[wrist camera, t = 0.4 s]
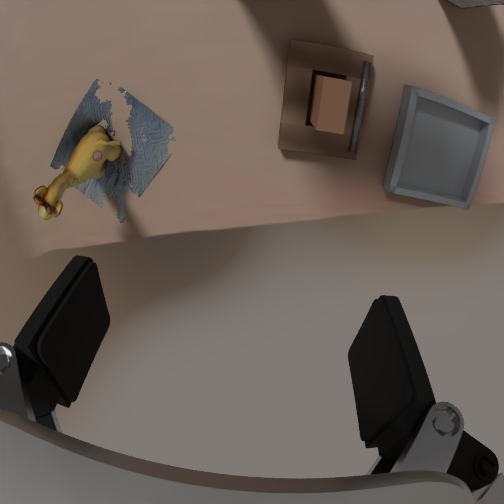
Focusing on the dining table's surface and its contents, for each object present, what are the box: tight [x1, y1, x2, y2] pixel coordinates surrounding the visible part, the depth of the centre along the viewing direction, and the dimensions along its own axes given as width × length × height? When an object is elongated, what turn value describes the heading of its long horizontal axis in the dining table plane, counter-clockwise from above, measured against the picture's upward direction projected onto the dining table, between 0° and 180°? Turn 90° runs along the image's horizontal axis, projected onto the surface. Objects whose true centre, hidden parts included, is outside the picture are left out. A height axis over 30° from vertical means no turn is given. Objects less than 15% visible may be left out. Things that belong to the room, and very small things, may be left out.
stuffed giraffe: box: [33, 79, 176, 223], centre depth 33 cm, size 16×18×16 cm
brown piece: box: [278, 40, 374, 160], centre depth 33 cm, size 14×10×2 cm
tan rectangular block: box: [309, 75, 352, 134], centre depth 31 cm, size 6×3×7 cm, turn 175°
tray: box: [383, 84, 495, 209], centre depth 35 cm, size 15×15×2 cm
